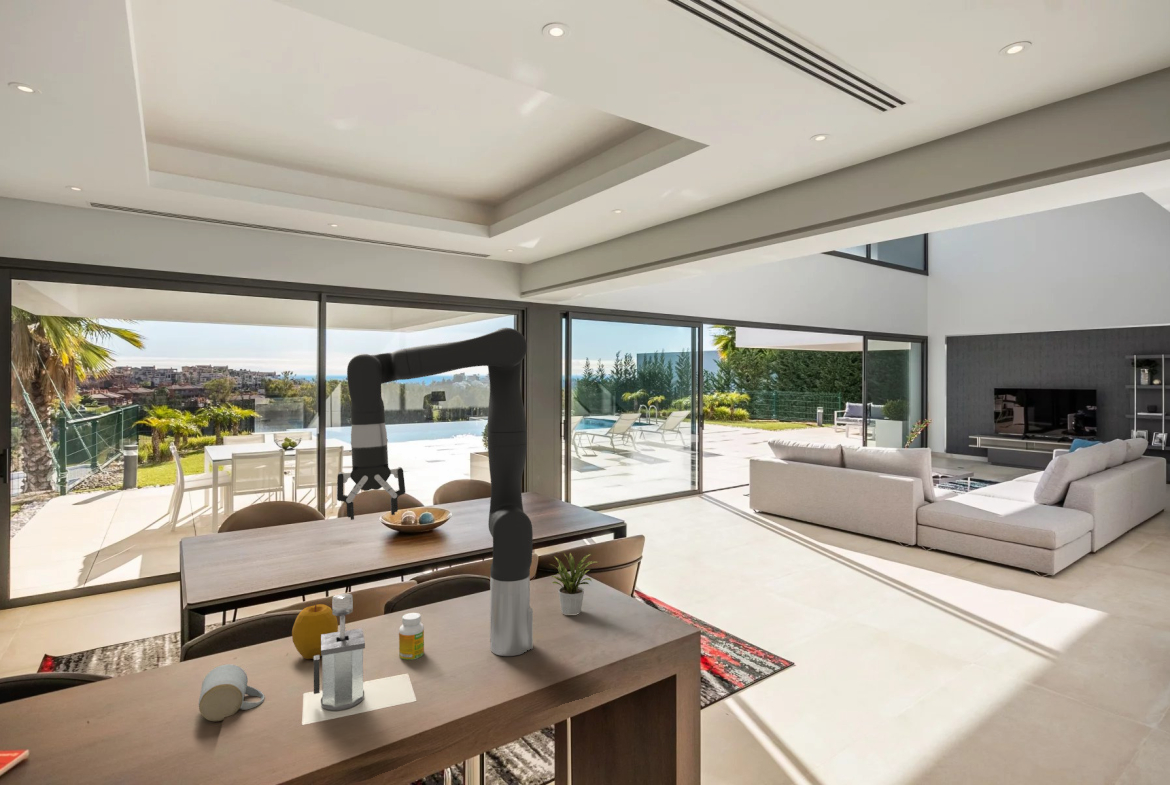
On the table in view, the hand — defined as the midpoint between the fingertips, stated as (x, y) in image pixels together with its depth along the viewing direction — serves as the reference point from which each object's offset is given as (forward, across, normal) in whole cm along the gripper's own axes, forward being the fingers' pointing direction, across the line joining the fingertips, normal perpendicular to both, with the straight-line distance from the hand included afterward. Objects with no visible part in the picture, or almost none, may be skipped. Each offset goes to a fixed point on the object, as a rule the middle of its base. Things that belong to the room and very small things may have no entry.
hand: (372, 516), depth 132 cm
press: (+32, +7, +16) cm, 36 cm away
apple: (+32, +14, -8) cm, 36 cm away
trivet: (+33, +4, +16) cm, 37 cm away
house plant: (+35, -51, -12) cm, 63 cm away
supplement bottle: (+33, -7, +1) cm, 34 cm away
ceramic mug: (+32, +27, +10) cm, 43 cm away
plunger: (+26, +7, +17) cm, 31 cm away
